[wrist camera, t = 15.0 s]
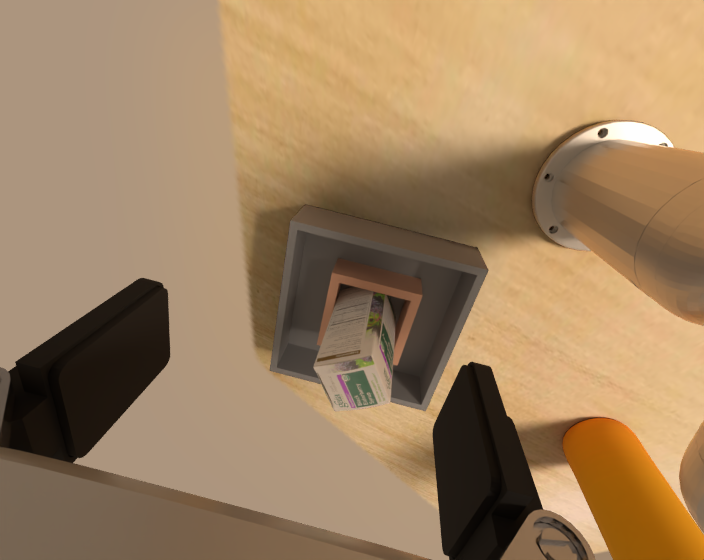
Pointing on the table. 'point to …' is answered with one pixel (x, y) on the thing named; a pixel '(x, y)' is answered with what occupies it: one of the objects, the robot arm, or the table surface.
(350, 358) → the syrup box
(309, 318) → the walled box
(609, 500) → the beer bottle
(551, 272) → the table surface
